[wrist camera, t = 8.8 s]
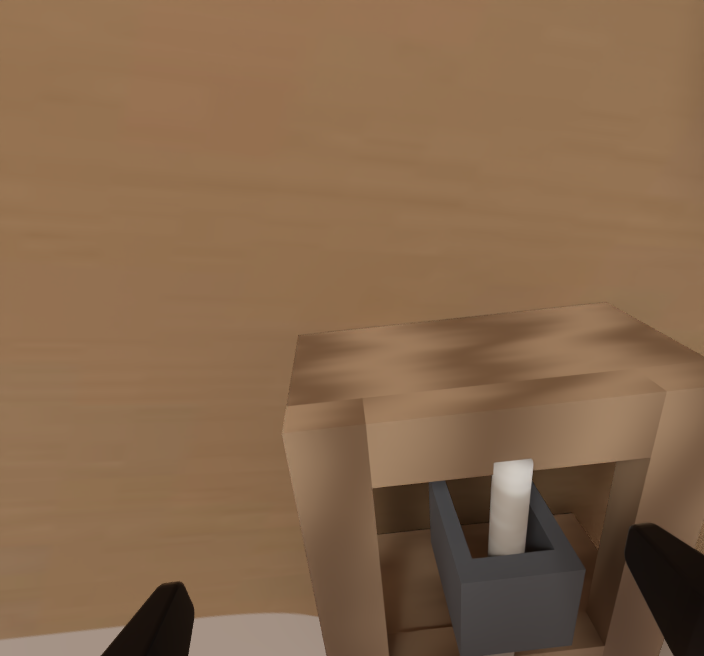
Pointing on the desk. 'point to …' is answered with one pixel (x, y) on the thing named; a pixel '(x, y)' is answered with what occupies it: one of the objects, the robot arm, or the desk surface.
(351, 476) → the shelf
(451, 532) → the grey slotted box
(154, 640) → the robot arm
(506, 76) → the desk surface
